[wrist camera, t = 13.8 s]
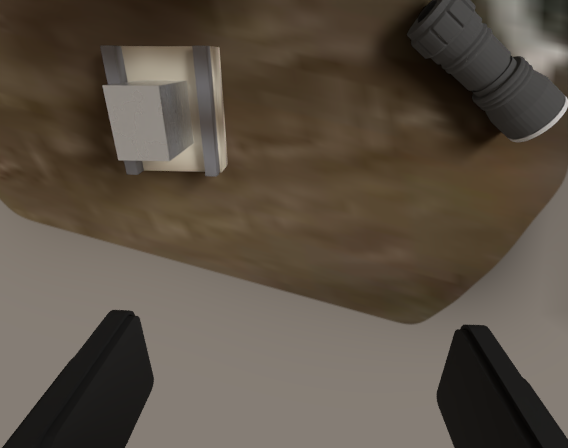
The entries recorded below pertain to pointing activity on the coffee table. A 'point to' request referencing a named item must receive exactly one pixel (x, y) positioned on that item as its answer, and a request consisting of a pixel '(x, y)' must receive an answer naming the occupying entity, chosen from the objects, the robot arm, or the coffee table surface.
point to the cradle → (201, 90)
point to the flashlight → (487, 69)
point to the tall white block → (149, 119)
